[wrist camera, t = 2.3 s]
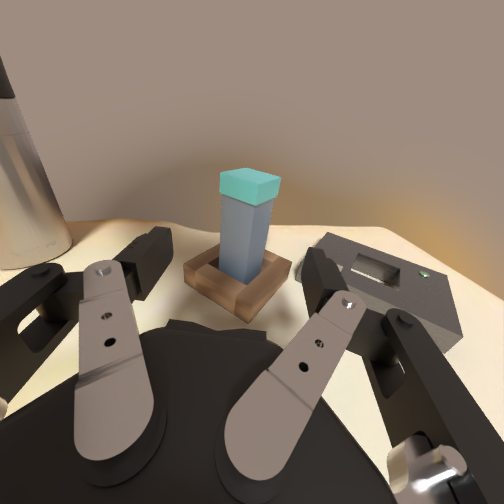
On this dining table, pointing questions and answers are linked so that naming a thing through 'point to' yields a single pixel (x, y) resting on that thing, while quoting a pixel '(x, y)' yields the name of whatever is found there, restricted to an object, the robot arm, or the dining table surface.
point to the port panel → (396, 287)
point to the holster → (236, 282)
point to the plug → (245, 221)
